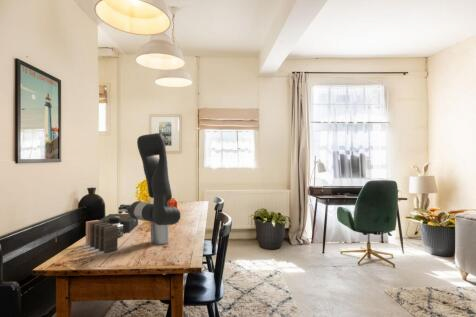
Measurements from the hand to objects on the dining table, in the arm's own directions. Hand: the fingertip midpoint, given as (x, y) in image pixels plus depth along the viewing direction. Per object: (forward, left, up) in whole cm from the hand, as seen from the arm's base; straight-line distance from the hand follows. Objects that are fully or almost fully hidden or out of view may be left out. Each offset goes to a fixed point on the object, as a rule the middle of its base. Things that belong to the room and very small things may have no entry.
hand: (121, 206), depth 137 cm
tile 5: (+19, -22, -22) cm, 37 cm away
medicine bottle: (+11, -36, -23) cm, 44 cm away
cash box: (+13, -60, -24) cm, 66 cm away
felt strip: (+13, -15, -23) cm, 30 cm away
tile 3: (+13, -15, -22) cm, 30 cm away
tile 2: (+10, -11, -22) cm, 27 cm away
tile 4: (+16, -19, -22) cm, 33 cm away
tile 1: (+6, -8, -22) cm, 25 cm away
